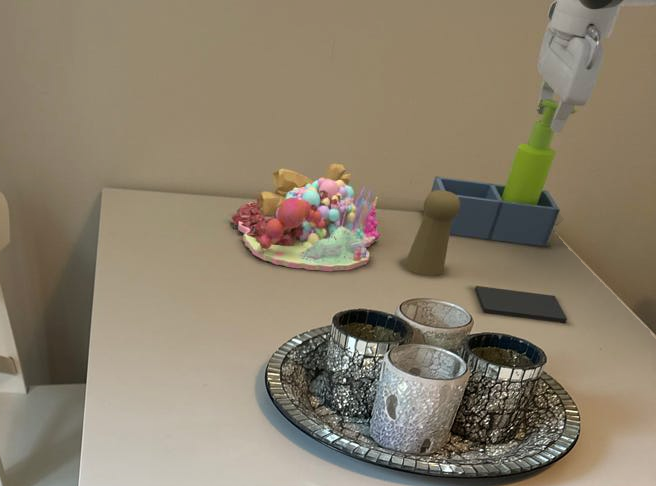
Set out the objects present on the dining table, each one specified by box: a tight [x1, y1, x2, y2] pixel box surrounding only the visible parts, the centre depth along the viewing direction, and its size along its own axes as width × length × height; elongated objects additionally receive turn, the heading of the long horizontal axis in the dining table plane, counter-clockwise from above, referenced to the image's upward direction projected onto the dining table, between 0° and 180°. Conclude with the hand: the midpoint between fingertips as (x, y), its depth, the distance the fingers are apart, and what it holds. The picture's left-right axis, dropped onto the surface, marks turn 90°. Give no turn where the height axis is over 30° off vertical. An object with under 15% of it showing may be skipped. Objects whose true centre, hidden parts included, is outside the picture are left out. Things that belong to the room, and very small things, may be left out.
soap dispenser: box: [501, 99, 578, 205], centre depth 149 cm, size 6×7×20 cm
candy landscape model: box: [231, 163, 380, 272], centre depth 142 cm, size 25×24×9 cm
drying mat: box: [474, 285, 568, 324], centre depth 134 cm, size 12×8×1 cm, turn 86°
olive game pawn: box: [404, 190, 460, 277], centre depth 137 cm, size 6×6×11 cm
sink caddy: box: [430, 175, 561, 248], centre depth 154 cm, size 19×9×6 cm, turn 86°
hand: (547, 121), depth 144 cm, fingers open, 8 cm apart
